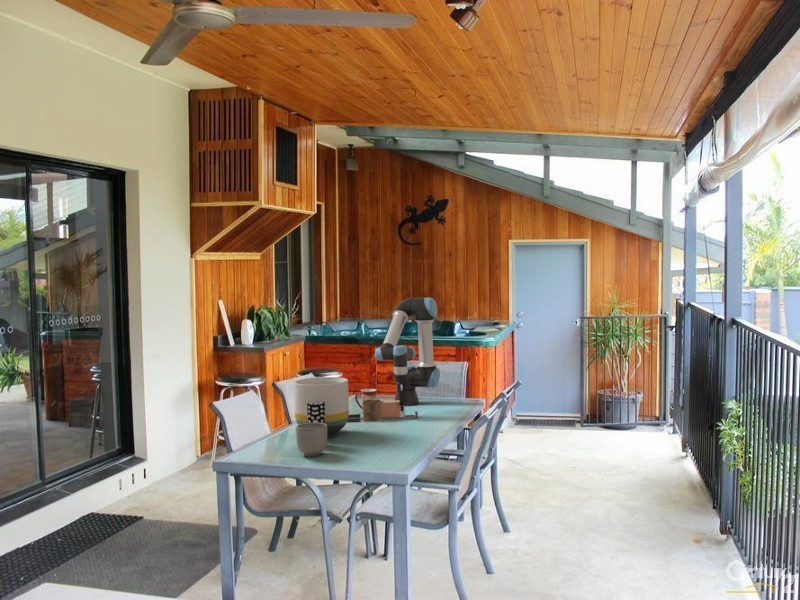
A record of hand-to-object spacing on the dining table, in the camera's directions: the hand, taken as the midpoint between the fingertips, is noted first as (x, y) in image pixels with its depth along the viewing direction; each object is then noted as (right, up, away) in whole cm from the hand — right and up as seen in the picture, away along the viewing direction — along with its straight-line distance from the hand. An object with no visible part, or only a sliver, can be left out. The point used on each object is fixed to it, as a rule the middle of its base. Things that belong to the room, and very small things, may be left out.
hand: (401, 415), depth 387 cm
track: (-7, -1, 0) cm, 7 cm away
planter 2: (-40, -5, -77) cm, 86 cm away
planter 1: (-40, -4, -37) cm, 54 cm away
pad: (-2, -1, 0) cm, 3 cm away
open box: (-16, -2, -1) cm, 17 cm away
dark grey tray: (-27, -2, -1) cm, 27 cm away
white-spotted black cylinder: (-39, -4, -60) cm, 72 cm away
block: (-7, 0, 0) cm, 7 cm away
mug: (-20, -1, +16) cm, 26 cm away
